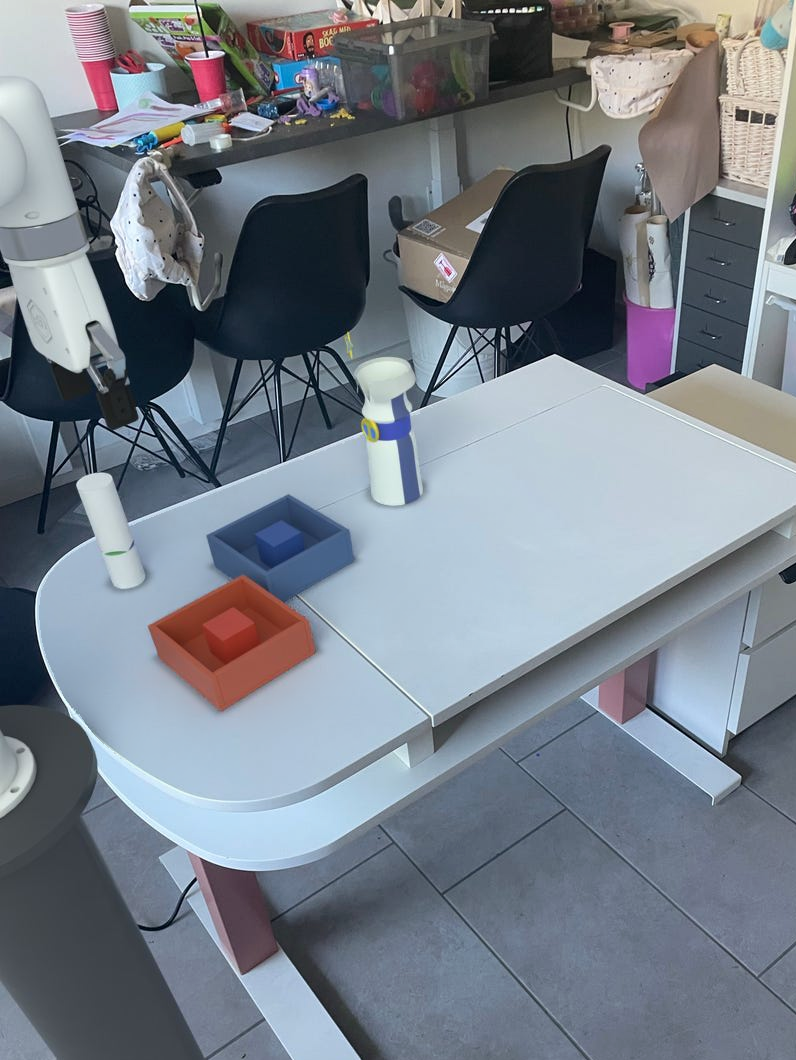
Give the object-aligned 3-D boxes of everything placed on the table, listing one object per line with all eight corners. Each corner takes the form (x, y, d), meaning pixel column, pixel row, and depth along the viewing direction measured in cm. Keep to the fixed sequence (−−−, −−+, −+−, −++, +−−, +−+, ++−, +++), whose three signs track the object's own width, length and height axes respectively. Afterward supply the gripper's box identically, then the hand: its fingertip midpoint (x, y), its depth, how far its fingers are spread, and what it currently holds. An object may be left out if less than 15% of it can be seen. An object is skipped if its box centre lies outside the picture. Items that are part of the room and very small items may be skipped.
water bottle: (394, 514, 134) (373, 346, 118) (357, 493, 139) (332, 329, 123) (437, 491, 138) (422, 326, 122) (400, 471, 143) (381, 310, 127)
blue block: (280, 574, 123) (273, 546, 121) (260, 561, 126) (254, 534, 123) (306, 559, 126) (301, 532, 123) (287, 547, 128) (281, 519, 125)
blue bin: (273, 608, 119) (265, 575, 116) (214, 566, 126) (205, 535, 123) (354, 561, 126) (349, 529, 123) (294, 524, 133) (288, 493, 130)
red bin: (221, 711, 105) (210, 678, 102) (159, 658, 113) (147, 625, 109) (316, 652, 112) (309, 619, 109) (251, 606, 119) (243, 573, 116)
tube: (106, 581, 125) (69, 484, 115) (132, 565, 127) (98, 469, 118) (126, 592, 123) (90, 494, 113) (152, 576, 125) (119, 478, 116)
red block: (231, 669, 110) (222, 640, 107) (210, 652, 112) (201, 624, 109) (262, 650, 112) (254, 622, 109) (241, 634, 114) (233, 606, 111)
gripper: (-38, 228, 88) (27, 398, 99) (46, 269, 78) (108, 451, 89) (38, 208, 92) (93, 374, 103) (127, 244, 82) (176, 422, 93)
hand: (100, 409), depth 96 cm, fingers open, 9 cm apart
